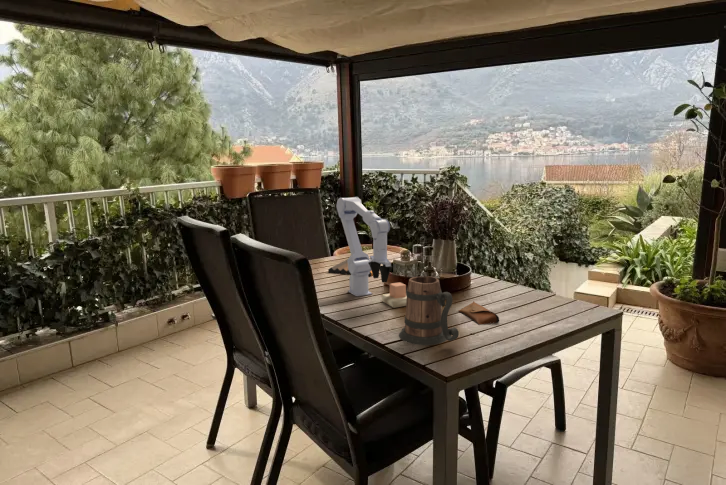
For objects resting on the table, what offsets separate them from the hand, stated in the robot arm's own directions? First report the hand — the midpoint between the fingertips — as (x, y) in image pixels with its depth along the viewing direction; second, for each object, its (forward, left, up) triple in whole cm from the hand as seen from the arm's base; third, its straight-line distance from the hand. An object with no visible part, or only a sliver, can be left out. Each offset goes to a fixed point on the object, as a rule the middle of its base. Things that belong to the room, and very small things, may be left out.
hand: (380, 280), depth 205 cm
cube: (+5, +6, -6) cm, 10 cm away
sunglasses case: (+34, +24, -10) cm, 43 cm away
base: (+5, +6, -9) cm, 12 cm away
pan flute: (-58, +18, -10) cm, 62 cm away
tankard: (+45, -5, -10) cm, 46 cm away
